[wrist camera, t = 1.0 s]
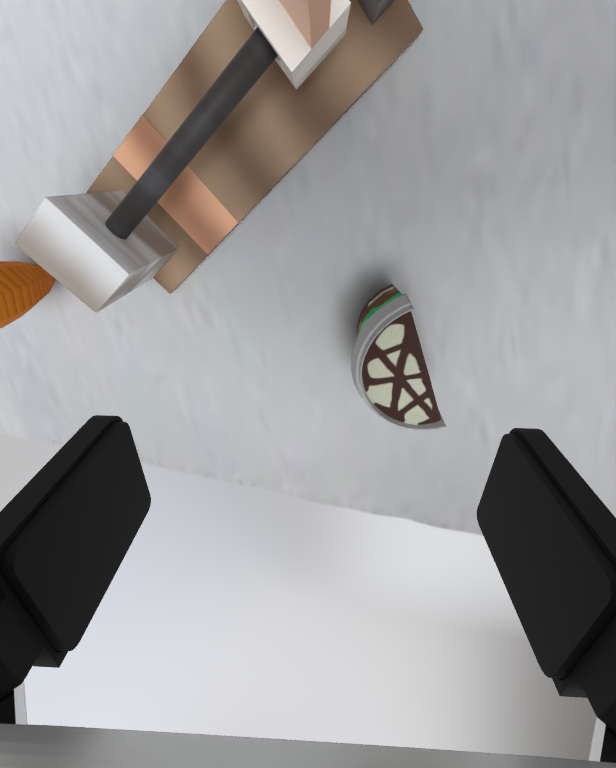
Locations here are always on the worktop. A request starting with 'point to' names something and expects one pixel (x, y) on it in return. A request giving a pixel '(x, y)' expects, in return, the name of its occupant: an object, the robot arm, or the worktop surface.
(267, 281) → the worktop surface
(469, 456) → the worktop surface
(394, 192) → the worktop surface
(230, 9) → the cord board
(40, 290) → the carrot
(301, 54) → the sleeve
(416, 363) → the food container
